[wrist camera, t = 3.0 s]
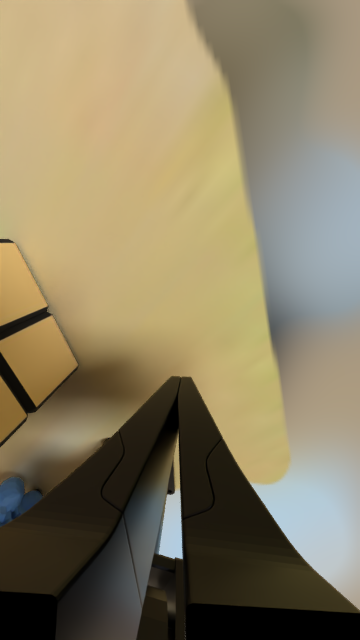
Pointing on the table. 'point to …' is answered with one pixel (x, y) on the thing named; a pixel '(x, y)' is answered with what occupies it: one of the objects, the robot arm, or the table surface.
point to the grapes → (15, 499)
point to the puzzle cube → (26, 344)
